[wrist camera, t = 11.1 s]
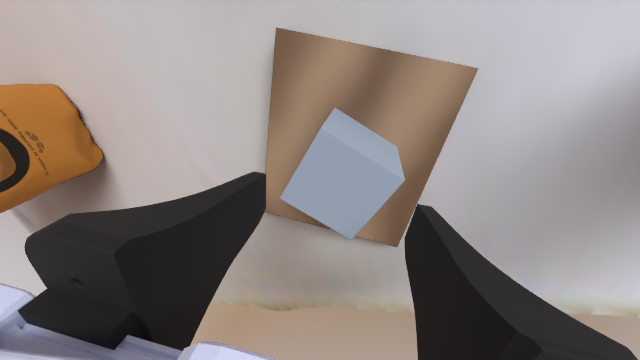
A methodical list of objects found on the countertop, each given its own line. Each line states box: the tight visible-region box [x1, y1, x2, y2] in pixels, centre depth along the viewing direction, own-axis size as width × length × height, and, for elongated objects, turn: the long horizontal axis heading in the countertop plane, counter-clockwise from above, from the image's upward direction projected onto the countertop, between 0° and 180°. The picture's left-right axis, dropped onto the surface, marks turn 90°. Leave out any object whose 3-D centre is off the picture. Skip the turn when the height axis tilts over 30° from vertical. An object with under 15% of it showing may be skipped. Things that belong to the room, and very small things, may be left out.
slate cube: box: [280, 108, 405, 240], centre depth 16 cm, size 5×5×5 cm
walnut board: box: [265, 28, 478, 247], centre depth 18 cm, size 12×14×2 cm
